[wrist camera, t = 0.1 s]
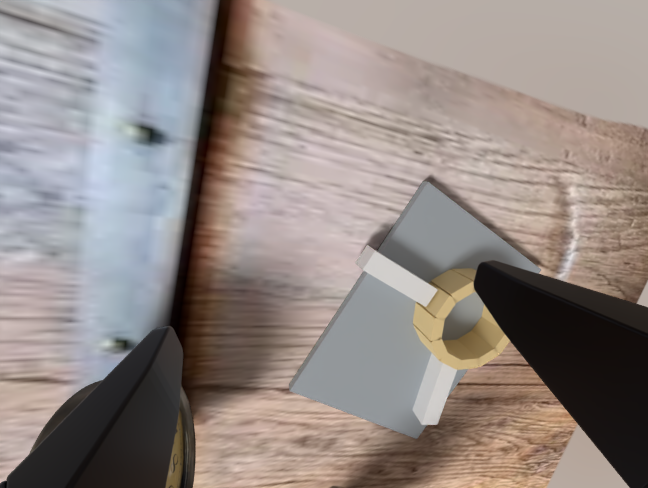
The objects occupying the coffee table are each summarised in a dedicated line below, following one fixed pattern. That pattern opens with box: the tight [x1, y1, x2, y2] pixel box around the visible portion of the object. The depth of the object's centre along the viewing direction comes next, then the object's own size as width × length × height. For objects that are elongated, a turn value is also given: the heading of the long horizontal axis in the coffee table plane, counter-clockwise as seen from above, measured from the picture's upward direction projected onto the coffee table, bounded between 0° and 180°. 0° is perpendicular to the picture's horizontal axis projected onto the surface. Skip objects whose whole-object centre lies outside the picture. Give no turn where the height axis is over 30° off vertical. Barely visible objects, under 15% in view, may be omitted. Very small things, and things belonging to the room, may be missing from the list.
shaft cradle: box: [289, 181, 541, 439], centre depth 26 cm, size 22×18×4 cm
